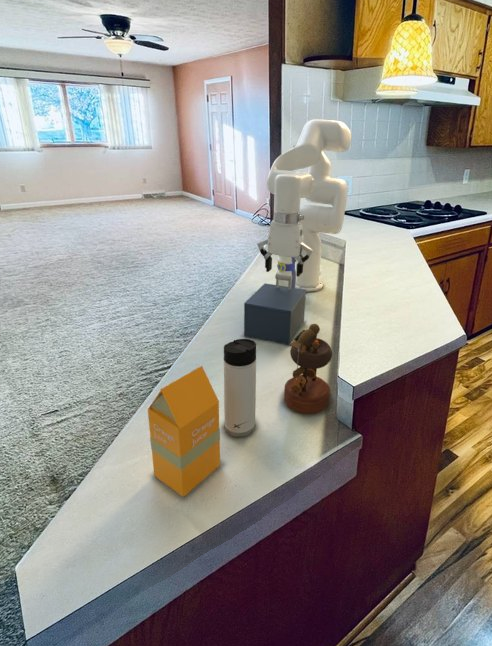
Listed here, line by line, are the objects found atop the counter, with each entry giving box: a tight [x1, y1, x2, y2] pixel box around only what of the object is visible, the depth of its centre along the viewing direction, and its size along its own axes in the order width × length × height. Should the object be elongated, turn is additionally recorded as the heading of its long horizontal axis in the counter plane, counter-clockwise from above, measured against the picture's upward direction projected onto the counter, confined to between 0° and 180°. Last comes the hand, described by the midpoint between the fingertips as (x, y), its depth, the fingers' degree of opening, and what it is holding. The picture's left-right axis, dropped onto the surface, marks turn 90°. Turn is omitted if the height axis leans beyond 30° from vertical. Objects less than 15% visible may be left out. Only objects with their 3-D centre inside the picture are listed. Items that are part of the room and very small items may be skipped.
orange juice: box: [147, 365, 221, 498], centre depth 70 cm, size 8×9×20 cm
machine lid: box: [243, 272, 308, 313], centre depth 122 cm, size 17×14×6 cm
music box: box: [283, 323, 333, 415], centre depth 92 cm, size 15×11×20 cm
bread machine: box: [243, 292, 307, 346], centre depth 124 cm, size 16×14×10 cm
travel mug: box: [223, 338, 257, 438], centre depth 81 cm, size 6×7×20 cm
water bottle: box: [276, 255, 297, 288], centre depth 147 cm, size 8×9×25 cm
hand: (283, 272), depth 126 cm, fingers open, 9 cm apart
